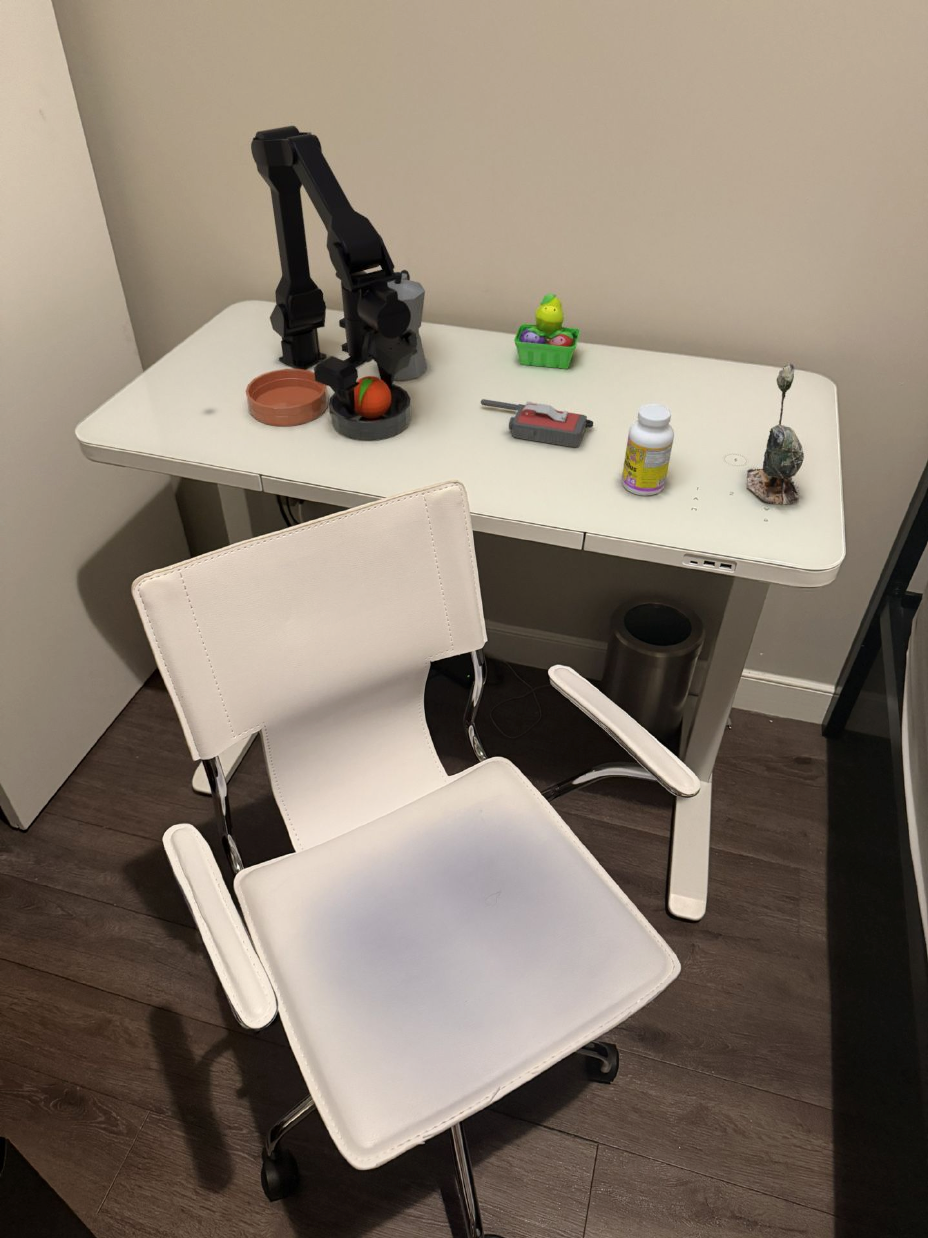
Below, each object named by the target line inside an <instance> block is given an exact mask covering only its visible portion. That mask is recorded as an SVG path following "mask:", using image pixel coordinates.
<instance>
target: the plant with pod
mask: <svg viewBox="0 0 928 1238" xmlns="http://www.w3.org/2000/svg"><path fill="white" fill-rule="evenodd" d="M794 378H795V366H794V364H792V363H786V364H785V365H784V366H782V369H781V370H779V372H778V375H777V377H776V385H777V387H778V388H777V389H779V390H780V392H781V402H780V404H781V405H780V406H781V407H780V414H779V421H778V424H777V425H775V426H772V427H771V428H770V430H769V435H768V438H767V442H766V445H765V446H766V449H765V452H764V454H763V462H762V468H754V469H753V468H749V469H747V470H746V472H747V473H746V475H747V479H746V488H747V489H749V490H751V492H753V494H754V495H755V496H758V497H759V499H760V501H763V502H764V503H767V504H773V505H779V504H780V505H785V504H786V505H792V504H795V502H798V501H799V500H800V495H799V490H798V489H799V486H797V485H796V484H795V481H793V477H795V476H796V475H797V473H798V472H799V471H800V469H801V467H802V465H803V462H804V460H805V454H804V449H803V445H802V444H801V443H802V442H801V441H800V440H799V437H798V436H797V433H796V432H795V430H794V429H792V428H791V427H790V426H786V425H782V419H783V413H784V401H785V398H786V394H787V392H788V391H789V390H790V389H791V387H792V384H793V382H794Z"/></svg>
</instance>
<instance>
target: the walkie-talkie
mask: <svg viewBox="0 0 928 1238" xmlns="http://www.w3.org/2000/svg"><path fill="white" fill-rule="evenodd" d="M480 405H482V406H486V407H492V408H498V409H504V410H509V411H515V416H511V417H510V418H509V422H508V429H509V430H510V431H511V437H513V438H518V439H522V440H529V441H534V442H539V443H546V444H553V445H558V446H563V447H570V448H576V447H580V444H581V442H582V439H583V437H584V436H585V435H584V434H585V433H586V429H591V428H593V427H594V421H593V420H591V419H588V416H587V415H585V414H581V413H575V412H569V411H567V410H565V411H564V410H558V409H556V408H554V407H553V406H552V405H549V404H544V403H543V404H542V403H537V402H533V401H528V400H527V401H526V402H525V404H521V403H519V404H516V403H510V402H503V401H499V400H491V399H486V398H485V399H484V398H482V399H481V400H480Z"/></svg>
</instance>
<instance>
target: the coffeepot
mask: <svg viewBox="0 0 928 1238" xmlns="http://www.w3.org/2000/svg"><path fill="white" fill-rule="evenodd" d="M394 273H395V276H396V280H395V281H391V282H387V283H388V287H389V288H392V289H394V290H396V291H397V293H398V298H399V299H400V300H402V301H403V302H404V303H406V305H407V306H408V308H409V310H410V312H411V320H410V324H409V326H408V328H407V330H409V329H411V330H412V331H413V332H414V333H416V338H417V347H416V349H417V353H416V354H415V355H413V356H411V359H410V363H409V366H408V367H406V368H403V369H402V370H400V371H399V372H398V373H397V374H395V377H394V380H393V381H399V382H401V381H403V382H404V381H412V380H414V379H417V378H419V377H421V376H423V375H424V374H425V373H426V371H427V370H428V365H427V359H426V356H425V351H424V348H423V346H424V345H423V341H422V337H421V335H420V328H421V327H422V321H423V313H424V304H425V294H426V289H425V288H424V287H423V285H422V284H421V282H418V281H414V280H411V276H410V273H409V271H408V270H407V269H403V270H401V271H394Z"/></svg>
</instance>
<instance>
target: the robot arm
mask: <svg viewBox="0 0 928 1238" xmlns="http://www.w3.org/2000/svg"><path fill="white" fill-rule="evenodd" d="M250 151H251V155H252V158H253V161H254V163H255V164H256V170H257V172H258V174H259V175H260V177H261V178H262V179H263V181H264V182H265V183H266V184H267V186H268V187H269V191H270V195H271V205H272V211H273V219H274V226H275V232H276V240H277V247H278V255H279V262H280V270H281V277H280V280H279V281H278V284H277V287H276V289H275V293H274V295H275V305H274V308H273V310H272V312H271V313H270V316H269V320H270V325H271V328H272V330H273V331H274V332H275V333H276V334H277V335H278V336H280V337H281V341H280V346H281V353H282V355H281V356H280V357H279V358H278V361H279V362H281V363H283V364H285V365H288V366H291V367H294V368H295V369H302V370H308V369H309V368H310V367H312V366H313V372H314V374H315V381H317V382H319V383H322V384H325V385H327V387H329V388H330V389H331V390H332V391H333V392H334V393H335V394H336V395H337V397H338V398H339V400H340V401H341V403H342V405H343V406H344V408H345V409H346V411H347V412H348V414H350V415H354V414H355V396H354V389H355V388H356V387H357V386H358V385H359V382H357V381H358V379H359V371H358V369H360V368H361V367H363V366H365V365H366V364H368V363H370V362H372V361H374V362H375V363H376V366H377V370H378V374H379V375H378V376H379V379H381V380H383V381H384V382H385V383H386V384H387V386H388V387H389V389H390V391H391V387H392V384H394V381H395V380H394V377H395V374H397V373H398V372H399V371H400V370H402V369H403V368H406V367H408V366H409V363H410V359H411V356H413V355H415V354H416V353H417V349H416V347H417V338H416V333H414V332H413V331H412V330H411V329H409V330H407V328H408V326H409V324H410V320H411V312H410V310H409V308H408V306H407V305H406V303H404V302H403V301H402V300H400V299H399V298H398V293H397V291H396V290H394V289H392V288H389V287H388V283H387V282H391V281H395V280H396V276H395V273H394V272H395V271H394V270H395V268H396V266H395V264H394V262H393V259H392V257H391V255H390V253H389V250H388V249H387V247H386V244H385V241H384V240H383V238H382V236H381V234H379V232H378V230H377V229H376V228H375V226H374V225H373V223H372V222H371V221H370V219H369V218H368V217H367V216H364V215H363V214H361V213H359V212H358V211H356V210H355V208H354V207H353V206H352V204H351V203H350V200H349V199H348V197H347V195H346V193H345V192H344V190H343V187H342V186H341V184H340V183H339V180H338V179H337V177H336V175H335V174H334V172H333V170H332V168H331V166H330V165H329V163H328V161H327V158H326V157H325V155H324V154H323V148H322V144H321V141H320V139H319V137H318V136H317V135H316V134H312V132H311V131H310V132H309V131H300V130H299V129H298V127H297V126H295V125H287V126H282V127H276V128H270V129H264V130H259V131H257V132H256V133H255V136H254V137H253V138H252V141H251V143H250ZM302 187H303V188H304V191H305V192H306V194H307V196H308V198H309V199H310V202H311V203H312V205H313V207H314V209H315V210H316V212H317V214H318V216H319V218H320V220H321V222H322V223H323V225H324V228H325V229H326V232H327V236H326V244H325V245H326V249H327V252H328V254H329V259H330V262H331V264H332V266H333V268H334V270H335V278H337V279H338V280H340V288H341V297H342V298H341V299H342V308H343V309H342V310H343V318H341V319H339V320H338V325H339V327H340V328H342V329H344V331H345V339H346V341H345V342H344V343H343V344H340V345H341V351H342V352H344V353H347V355H348V357H347V358H346V359H344V360H343V359H341V358H338V357H336V356H334V355H333V356H332V355H331V356H329V357H327V354H326V353H323V352H321V349H320V343H319V342H320V341H319V334H318V329H320V328H325V326H326V314H327V305H326V301H325V298H324V291H323V290H322V289H321V288H320V287H319V286H318V285H317V283H316V282H315V281H314V279H312V276H311V270H310V262H309V253H308V252H309V251H308V246H307V245H308V244H307V237H306V227H305V219H304V211H303V201H302V194H301V193H302V192H301V189H302ZM378 267H380V268H381V269H378V270H374V271H371V272H366V271H367V270H371V269H375V268H378ZM314 365H315V366H314Z"/></svg>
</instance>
